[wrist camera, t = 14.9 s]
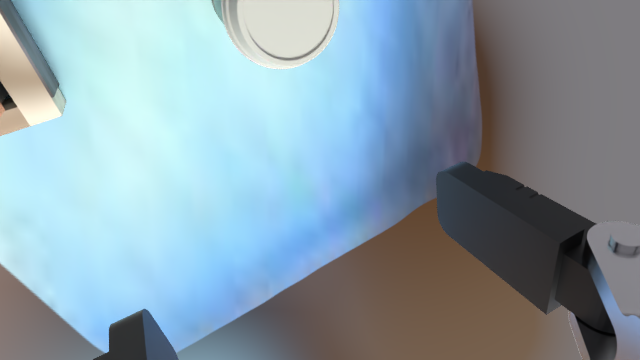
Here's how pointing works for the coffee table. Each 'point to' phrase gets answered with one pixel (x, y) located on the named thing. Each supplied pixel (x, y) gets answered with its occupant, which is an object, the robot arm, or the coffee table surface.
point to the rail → (24, 76)
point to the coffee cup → (279, 29)
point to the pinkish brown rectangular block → (2, 97)
